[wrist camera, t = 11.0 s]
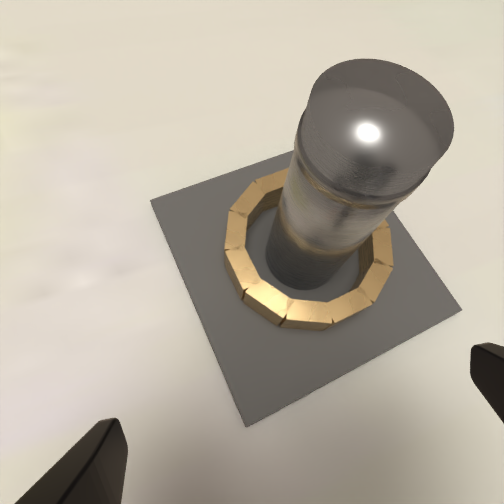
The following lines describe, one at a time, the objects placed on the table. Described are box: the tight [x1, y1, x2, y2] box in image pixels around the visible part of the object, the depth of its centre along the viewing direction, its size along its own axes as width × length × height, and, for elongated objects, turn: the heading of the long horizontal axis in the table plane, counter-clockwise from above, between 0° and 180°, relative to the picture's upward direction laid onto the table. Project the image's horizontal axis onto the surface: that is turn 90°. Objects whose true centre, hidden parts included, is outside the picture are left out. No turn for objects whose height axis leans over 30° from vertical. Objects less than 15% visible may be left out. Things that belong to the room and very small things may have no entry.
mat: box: [150, 150, 462, 427], centre depth 24 cm, size 16×16×1 cm
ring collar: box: [224, 168, 394, 331], centre depth 23 cm, size 10×10×2 cm
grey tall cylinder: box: [265, 59, 454, 290], centre depth 18 cm, size 5×5×13 cm
